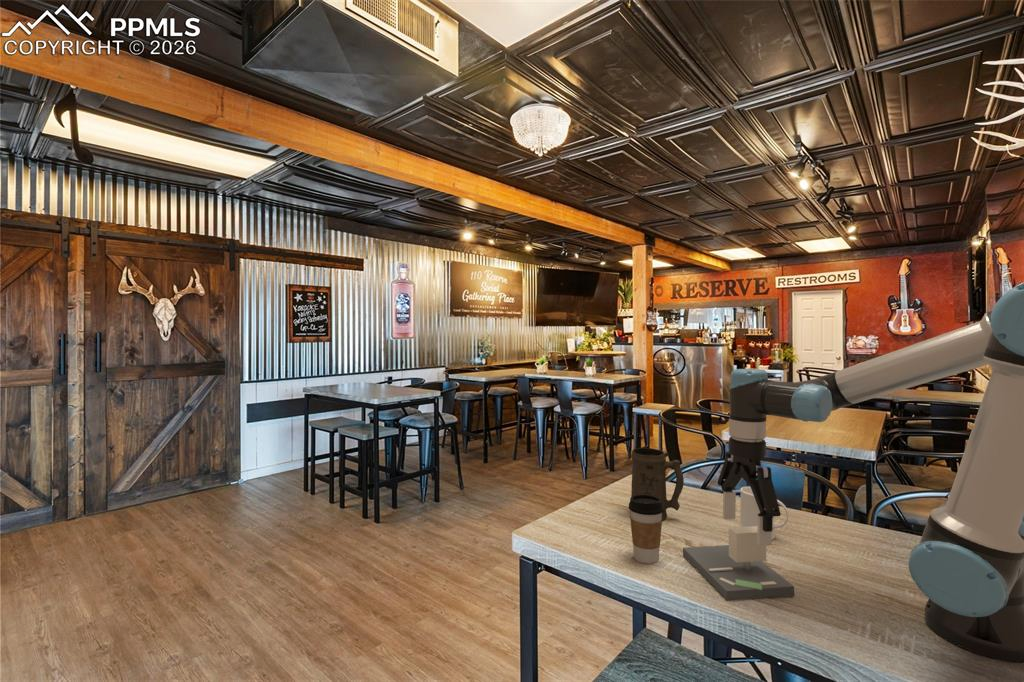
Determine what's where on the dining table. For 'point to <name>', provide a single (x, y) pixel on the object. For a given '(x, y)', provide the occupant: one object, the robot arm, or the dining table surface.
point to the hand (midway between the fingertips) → (745, 531)
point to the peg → (744, 547)
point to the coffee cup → (646, 527)
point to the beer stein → (655, 476)
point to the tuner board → (737, 575)
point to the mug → (755, 510)
